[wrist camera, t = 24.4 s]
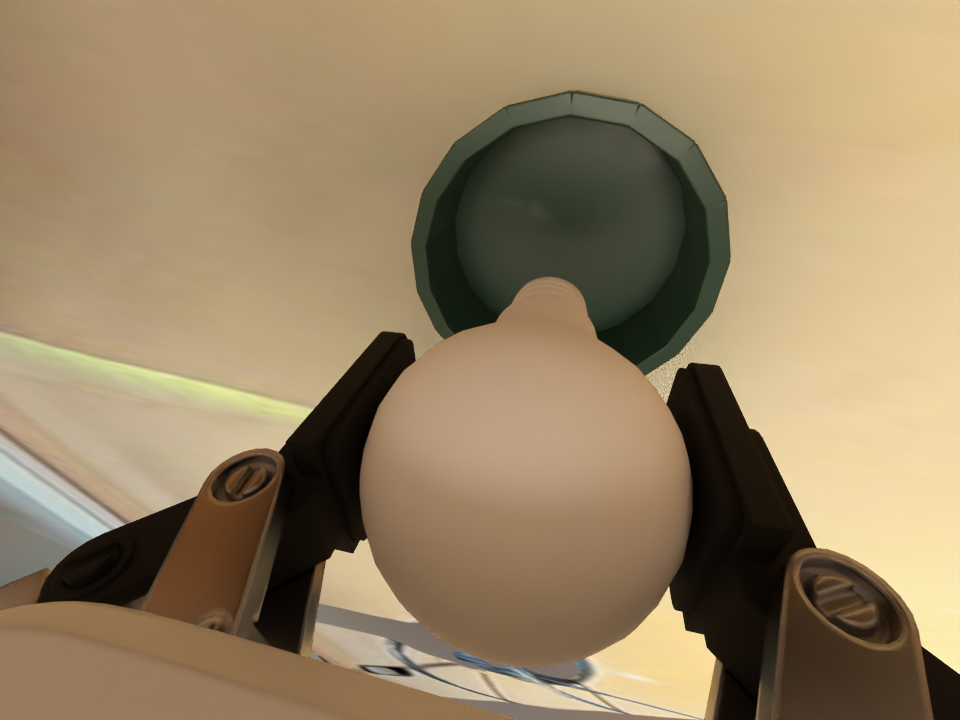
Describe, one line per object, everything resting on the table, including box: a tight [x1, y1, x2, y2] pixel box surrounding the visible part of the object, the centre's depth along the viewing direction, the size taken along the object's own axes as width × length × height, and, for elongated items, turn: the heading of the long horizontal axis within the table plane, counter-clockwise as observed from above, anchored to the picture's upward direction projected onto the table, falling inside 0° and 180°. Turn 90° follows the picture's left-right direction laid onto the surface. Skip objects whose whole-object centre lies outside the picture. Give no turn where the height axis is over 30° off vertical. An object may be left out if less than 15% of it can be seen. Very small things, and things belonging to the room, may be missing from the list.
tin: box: [411, 90, 731, 376], centre depth 18 cm, size 12×13×5 cm
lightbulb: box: [359, 277, 693, 668], centre depth 10 cm, size 6×6×11 cm
